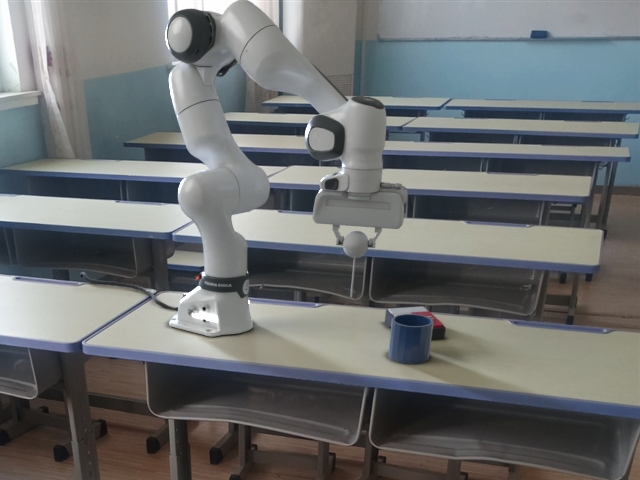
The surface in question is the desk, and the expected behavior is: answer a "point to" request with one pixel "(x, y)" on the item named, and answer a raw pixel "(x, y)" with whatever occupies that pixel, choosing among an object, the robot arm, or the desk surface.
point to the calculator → (437, 325)
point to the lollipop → (355, 248)
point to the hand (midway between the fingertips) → (355, 246)
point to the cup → (410, 338)
